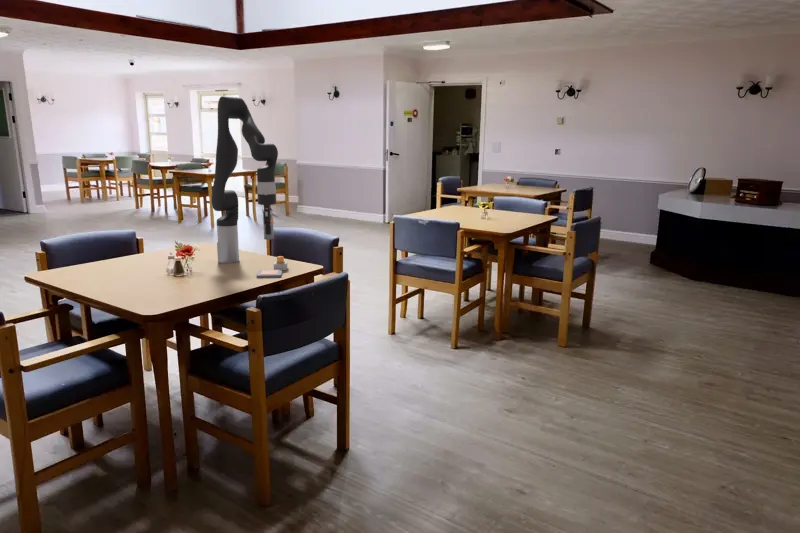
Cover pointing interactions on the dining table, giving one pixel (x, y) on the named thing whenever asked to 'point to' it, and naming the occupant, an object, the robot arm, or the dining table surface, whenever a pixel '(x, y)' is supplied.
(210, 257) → the dining table surface
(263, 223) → the grey upright block
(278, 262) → the button
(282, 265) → the button housing
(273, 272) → the picture board
